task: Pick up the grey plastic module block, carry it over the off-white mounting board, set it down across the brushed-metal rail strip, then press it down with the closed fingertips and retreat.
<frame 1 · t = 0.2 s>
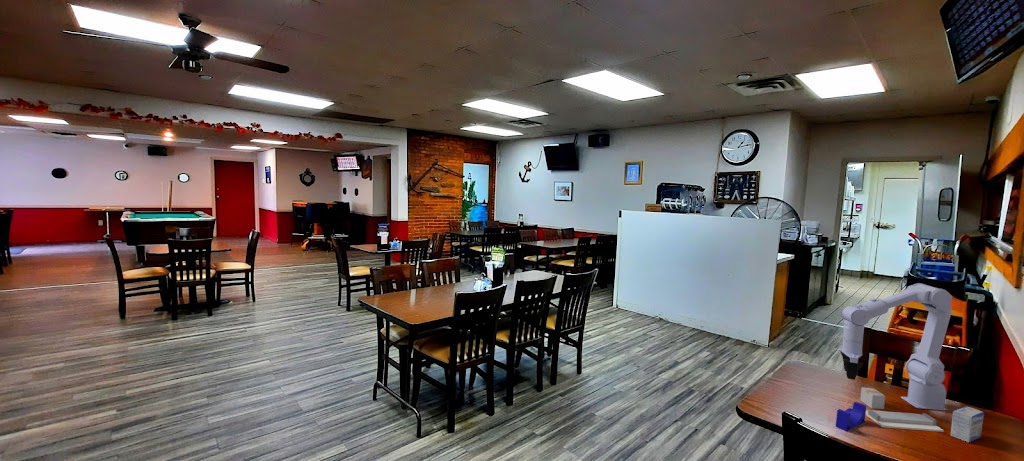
hand: (849, 374, 157), 10 cm above the table, fingers open, 7 cm apart
rail board: (900, 421, 144), on the table
cable clip: (847, 424, 143), on the table
medicine box: (965, 437, 136), on the table
module: (871, 404, 155), on the table
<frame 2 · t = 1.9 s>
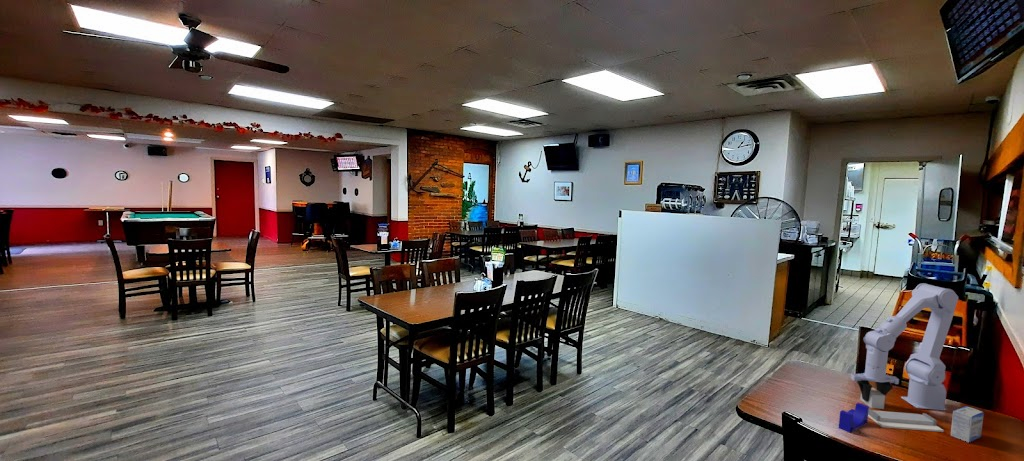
hand: (872, 400, 155), 1 cm above the table, fingers closed on module, 4 cm apart
module: (871, 404, 155), on the table, touching gripper
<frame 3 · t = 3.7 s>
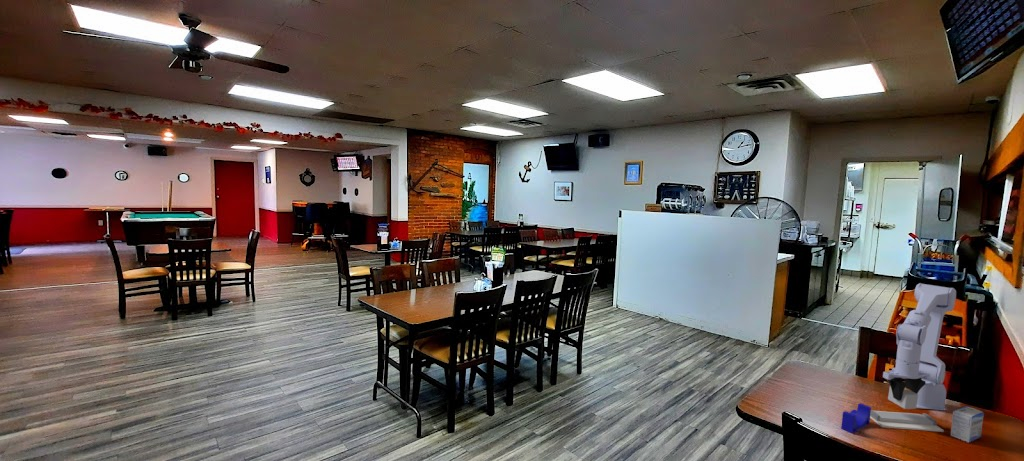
hand: (903, 398, 143), 8 cm above the table, fingers closed on module, 4 cm apart
module: (901, 403, 144), point 6 cm above the table, touching gripper
when the fingers open (4 cm above the table, at t = 4.8 s): module stays where it is, resting on rail board.
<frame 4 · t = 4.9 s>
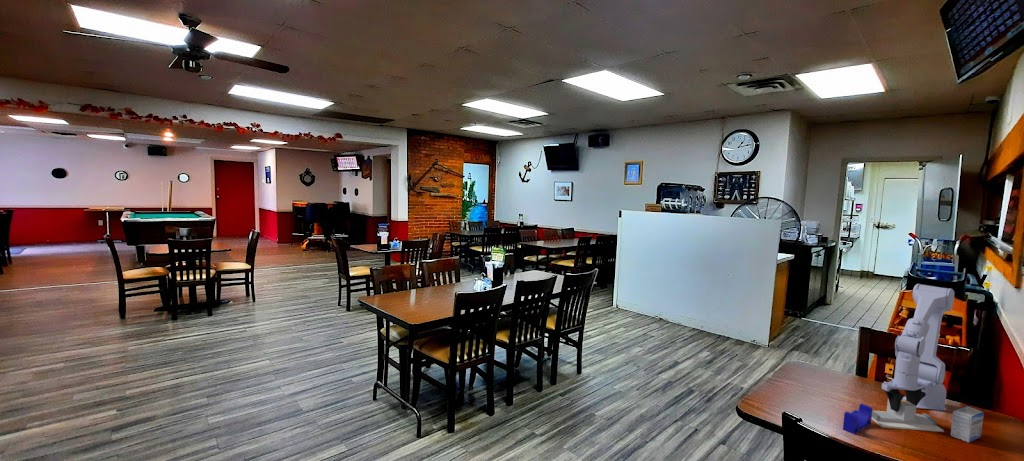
hand: (902, 410, 144), 4 cm above the table, fingers open, 5 cm apart
module: (900, 415, 144), point 2 cm above the table, touching rail board
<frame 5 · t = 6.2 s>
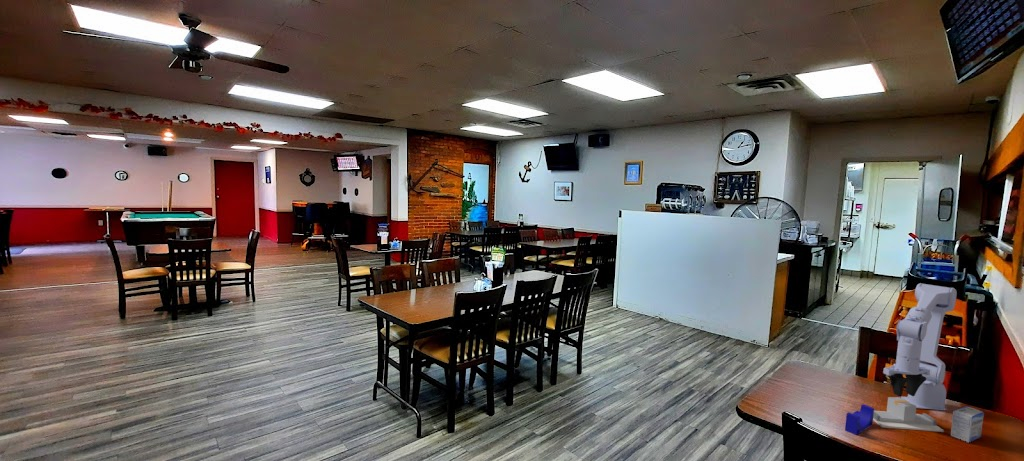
hand: (903, 394, 143), 9 cm above the table, fingers open, 4 cm apart
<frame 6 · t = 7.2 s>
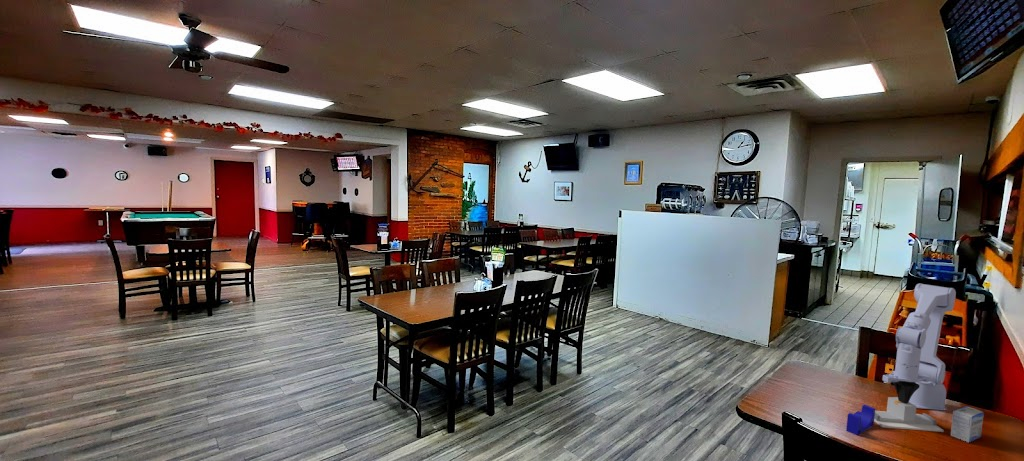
hand: (903, 402, 143), 7 cm above the table, fingers closed, pressing on module
module: (900, 415, 144), point 2 cm above the table, touching gripper, rail board
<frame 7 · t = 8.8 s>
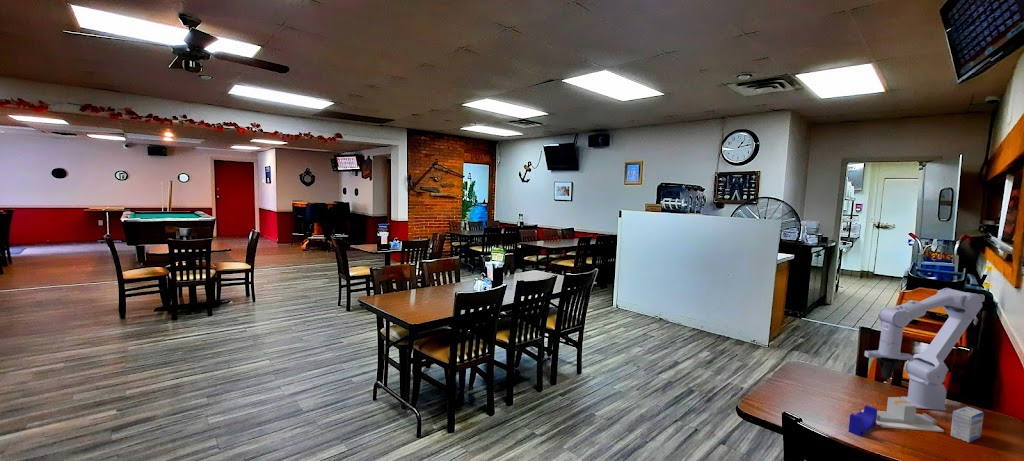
hand: (885, 377, 154), 10 cm above the table, fingers closed
module: (900, 415, 144), point 2 cm above the table, touching rail board
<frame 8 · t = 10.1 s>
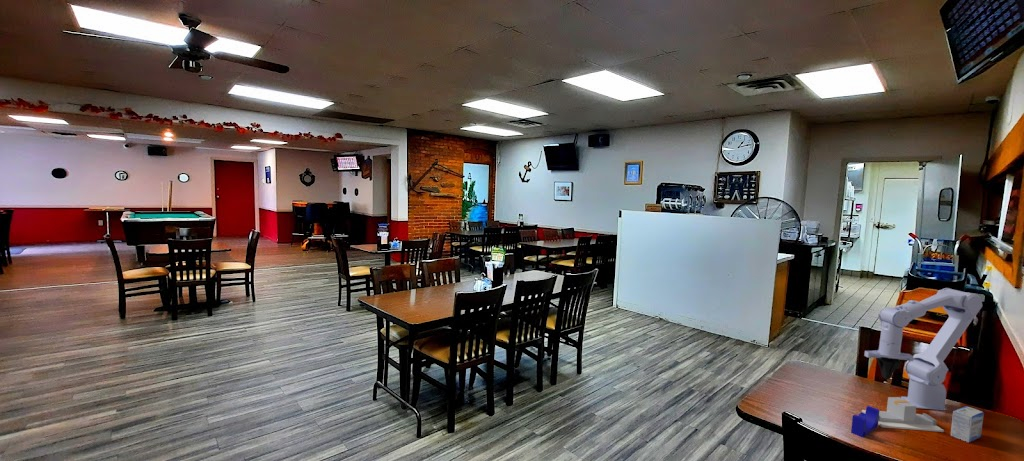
hand: (885, 377, 154), 10 cm above the table, fingers closed
at the end: module inside the target area on the rail board (0.4 cm from its centre), point 1.8 cm above the rail board's base; module tilted 0°; the gripper is holding nothing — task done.
